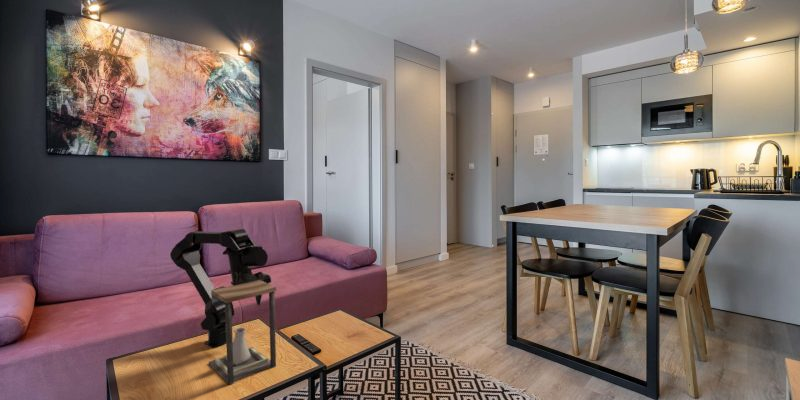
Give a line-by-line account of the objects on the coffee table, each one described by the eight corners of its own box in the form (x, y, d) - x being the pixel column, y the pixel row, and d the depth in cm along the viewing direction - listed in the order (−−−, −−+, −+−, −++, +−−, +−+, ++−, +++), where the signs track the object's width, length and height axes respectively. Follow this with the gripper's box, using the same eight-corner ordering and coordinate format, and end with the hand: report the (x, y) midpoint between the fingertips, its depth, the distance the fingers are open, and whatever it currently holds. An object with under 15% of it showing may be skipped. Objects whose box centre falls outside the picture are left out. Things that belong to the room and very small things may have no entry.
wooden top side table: (206, 364, 115) (204, 286, 113) (253, 348, 126) (251, 276, 124) (228, 386, 103) (225, 299, 102) (277, 366, 114) (276, 287, 112)
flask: (236, 368, 112) (237, 339, 110) (220, 358, 115) (222, 330, 113) (255, 357, 118) (257, 329, 116) (240, 348, 121) (242, 321, 119)
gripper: (222, 277, 112) (230, 325, 114) (276, 260, 126) (282, 303, 128) (207, 273, 119) (214, 318, 121) (259, 258, 133) (266, 298, 135)
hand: (246, 309), depth 126 cm, fingers open, 9 cm apart
